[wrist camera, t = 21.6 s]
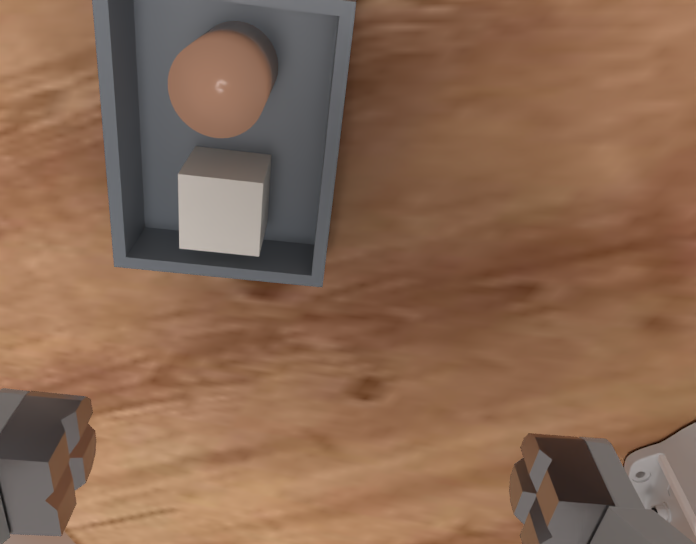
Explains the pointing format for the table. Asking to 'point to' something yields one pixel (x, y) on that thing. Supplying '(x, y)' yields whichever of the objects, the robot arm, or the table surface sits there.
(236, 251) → the cream cube
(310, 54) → the box
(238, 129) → the tan rounded cylinder
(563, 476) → the robot arm
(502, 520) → the table surface
